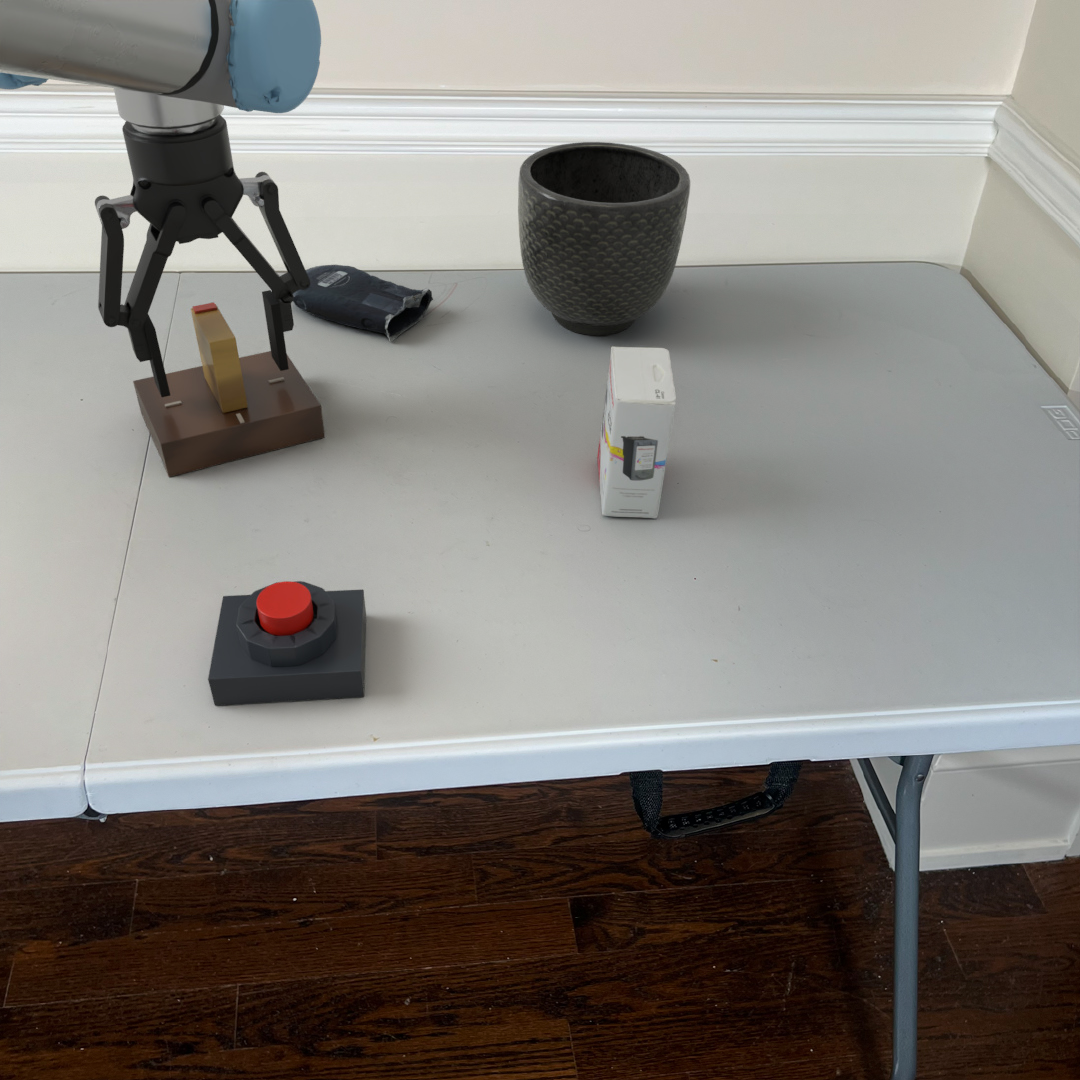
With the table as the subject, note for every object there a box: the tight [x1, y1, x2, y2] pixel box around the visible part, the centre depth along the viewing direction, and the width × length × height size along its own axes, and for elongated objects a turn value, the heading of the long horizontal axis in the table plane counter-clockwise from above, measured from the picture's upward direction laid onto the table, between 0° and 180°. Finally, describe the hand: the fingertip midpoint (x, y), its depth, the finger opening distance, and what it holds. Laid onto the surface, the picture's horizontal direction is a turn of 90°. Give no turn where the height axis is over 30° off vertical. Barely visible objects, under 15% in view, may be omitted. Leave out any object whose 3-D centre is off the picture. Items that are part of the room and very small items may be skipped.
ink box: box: [596, 345, 677, 519], centre depth 86 cm, size 9×5×12 cm, turn 0°
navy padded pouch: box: [292, 264, 434, 343], centre depth 111 cm, size 9×6×15 cm
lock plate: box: [132, 350, 326, 478], centre depth 94 cm, size 14×11×4 cm
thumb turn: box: [190, 302, 248, 413], centre depth 90 cm, size 6×2×7 cm, turn 28°
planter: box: [517, 141, 691, 336], centre depth 108 cm, size 17×17×16 cm
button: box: [256, 580, 314, 636], centre depth 70 cm, size 4×4×2 cm
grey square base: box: [207, 580, 367, 707], centre depth 72 cm, size 10×8×4 cm
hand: (222, 375), depth 91 cm, fingers open, 10 cm apart
